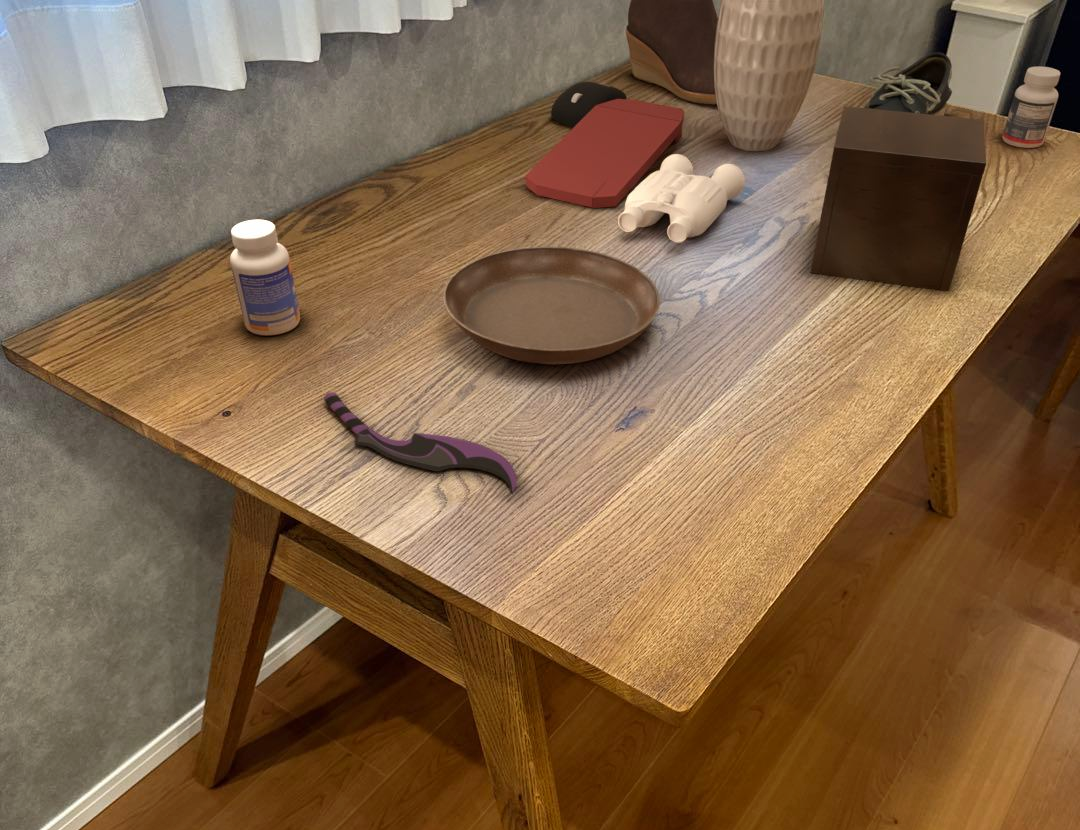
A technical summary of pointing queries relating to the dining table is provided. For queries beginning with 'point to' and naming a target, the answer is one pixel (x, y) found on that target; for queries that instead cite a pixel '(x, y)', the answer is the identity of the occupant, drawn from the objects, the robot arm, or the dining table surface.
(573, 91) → the computer mouse
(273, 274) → the pill bottle
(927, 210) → the dark wooden box
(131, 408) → the dining table surface
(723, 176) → the binoculars
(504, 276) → the plant saucer
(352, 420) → the knife
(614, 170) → the carton
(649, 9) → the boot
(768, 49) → the vase
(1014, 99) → the pill bottle
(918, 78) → the boat shoe
